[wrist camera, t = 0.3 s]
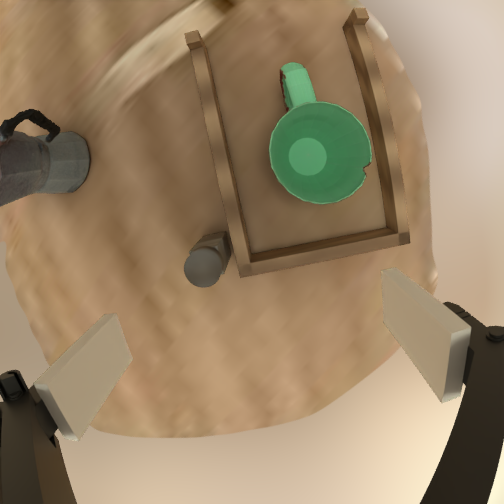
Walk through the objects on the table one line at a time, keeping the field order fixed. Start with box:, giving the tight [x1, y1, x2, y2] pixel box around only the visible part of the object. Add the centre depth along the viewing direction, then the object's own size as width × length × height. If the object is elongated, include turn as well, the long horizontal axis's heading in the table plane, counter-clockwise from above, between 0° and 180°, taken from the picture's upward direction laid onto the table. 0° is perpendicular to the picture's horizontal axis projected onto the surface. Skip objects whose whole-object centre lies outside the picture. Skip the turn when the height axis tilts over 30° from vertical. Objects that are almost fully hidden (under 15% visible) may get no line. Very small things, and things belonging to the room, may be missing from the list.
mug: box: [269, 62, 372, 205], centre depth 33 cm, size 15×10×10 cm
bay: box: [184, 8, 410, 287], centre depth 32 cm, size 29×25×10 cm
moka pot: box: [0, 109, 89, 207], centre depth 29 cm, size 10×15×20 cm, turn 127°
